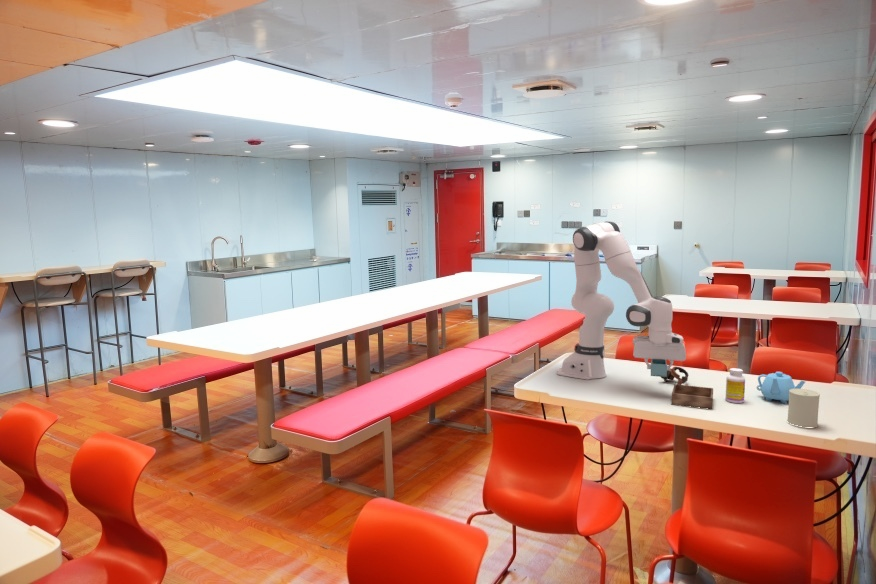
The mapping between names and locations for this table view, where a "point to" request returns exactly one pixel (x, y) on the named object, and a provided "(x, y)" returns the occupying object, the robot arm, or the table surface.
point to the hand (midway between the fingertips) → (658, 369)
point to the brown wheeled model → (676, 375)
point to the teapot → (777, 386)
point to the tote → (659, 367)
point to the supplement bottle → (735, 386)
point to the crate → (692, 396)
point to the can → (803, 407)
